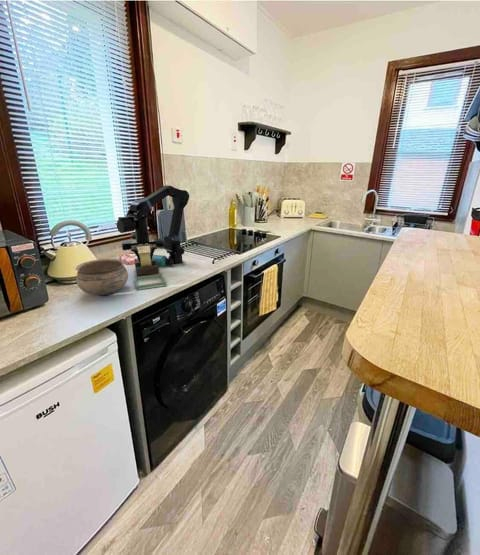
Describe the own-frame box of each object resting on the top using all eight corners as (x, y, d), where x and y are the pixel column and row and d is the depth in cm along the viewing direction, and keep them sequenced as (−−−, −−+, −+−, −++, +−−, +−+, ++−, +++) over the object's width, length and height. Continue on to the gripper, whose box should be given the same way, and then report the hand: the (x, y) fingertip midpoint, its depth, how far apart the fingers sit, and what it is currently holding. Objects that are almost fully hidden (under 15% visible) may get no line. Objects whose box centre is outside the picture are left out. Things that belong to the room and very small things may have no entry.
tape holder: (135, 270, 139) (134, 261, 137) (156, 268, 142) (155, 258, 141) (137, 280, 127) (136, 270, 125) (159, 277, 130) (158, 267, 129)
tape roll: (140, 264, 135) (138, 250, 132) (150, 263, 137) (148, 250, 134) (141, 270, 129) (140, 256, 126) (151, 268, 131) (150, 255, 128)
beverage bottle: (133, 262, 142) (168, 265, 137) (136, 250, 144) (171, 253, 139) (139, 267, 148) (173, 270, 143) (142, 255, 150) (176, 258, 145)
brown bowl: (66, 294, 112) (59, 266, 108) (108, 279, 127) (103, 254, 123) (103, 309, 100) (97, 278, 96) (144, 291, 115) (141, 264, 111)
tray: (162, 277, 130) (161, 273, 129) (166, 286, 120) (165, 282, 119) (135, 281, 125) (134, 277, 124) (136, 290, 116) (136, 286, 115)
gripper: (159, 225, 137) (162, 254, 143) (119, 227, 130) (124, 258, 136) (163, 229, 127) (166, 261, 133) (119, 232, 120) (125, 265, 126)
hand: (145, 261), depth 132 cm, fingers closed on tape roll, 4 cm apart
